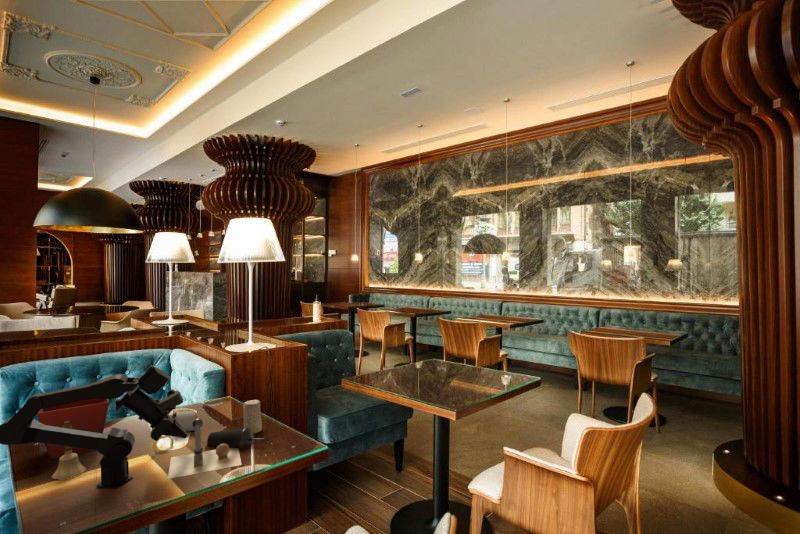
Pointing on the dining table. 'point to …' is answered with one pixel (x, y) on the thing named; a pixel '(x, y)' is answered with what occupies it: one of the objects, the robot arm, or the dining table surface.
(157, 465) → the dining table surface
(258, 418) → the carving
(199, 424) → the lever
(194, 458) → the board
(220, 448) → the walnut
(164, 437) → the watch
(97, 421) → the plant pot
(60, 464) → the hand bell
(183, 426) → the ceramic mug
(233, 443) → the drinking cup
